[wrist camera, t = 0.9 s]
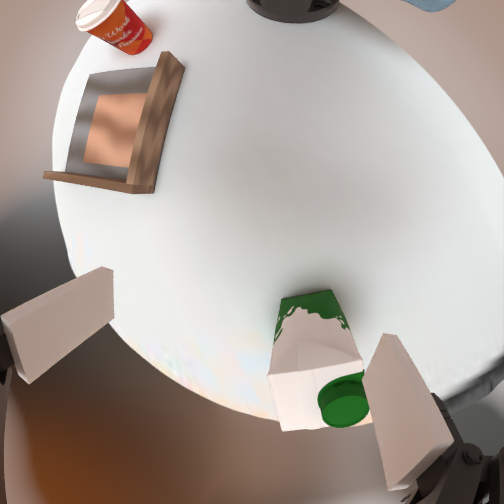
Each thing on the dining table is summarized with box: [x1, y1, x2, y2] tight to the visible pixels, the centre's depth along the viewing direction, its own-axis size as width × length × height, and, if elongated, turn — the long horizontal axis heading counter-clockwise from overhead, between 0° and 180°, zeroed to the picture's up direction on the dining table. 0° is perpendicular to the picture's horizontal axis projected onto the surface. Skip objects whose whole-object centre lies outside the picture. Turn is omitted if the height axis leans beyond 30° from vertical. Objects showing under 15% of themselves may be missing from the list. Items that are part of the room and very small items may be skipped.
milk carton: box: [267, 290, 370, 431], centre depth 28 cm, size 9×9×20 cm
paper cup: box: [76, 0, 153, 55], centre depth 25 cm, size 8×8×14 cm
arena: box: [43, 51, 185, 194], centre depth 33 cm, size 20×20×6 cm
